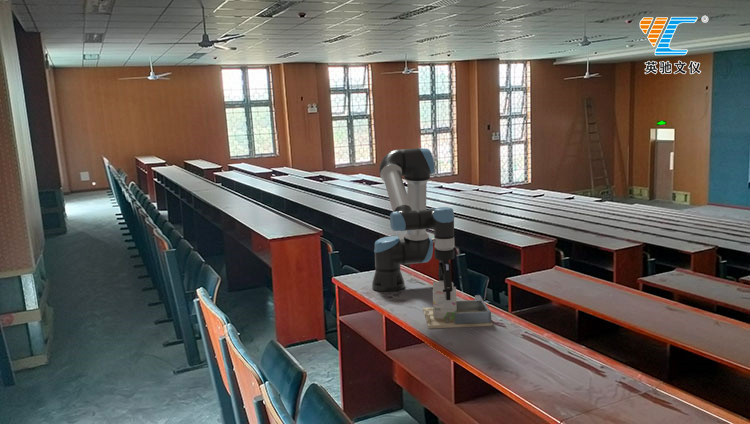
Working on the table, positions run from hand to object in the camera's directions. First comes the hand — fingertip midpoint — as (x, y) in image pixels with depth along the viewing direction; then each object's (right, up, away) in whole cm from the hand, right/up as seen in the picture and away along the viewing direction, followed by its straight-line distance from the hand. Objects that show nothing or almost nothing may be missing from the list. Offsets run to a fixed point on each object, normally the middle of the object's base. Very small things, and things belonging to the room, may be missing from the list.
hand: (445, 302), depth 225 cm
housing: (+9, -5, +4) cm, 12 cm away
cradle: (+5, -7, +4) cm, 9 cm away
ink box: (0, -6, +3) cm, 7 cm away
